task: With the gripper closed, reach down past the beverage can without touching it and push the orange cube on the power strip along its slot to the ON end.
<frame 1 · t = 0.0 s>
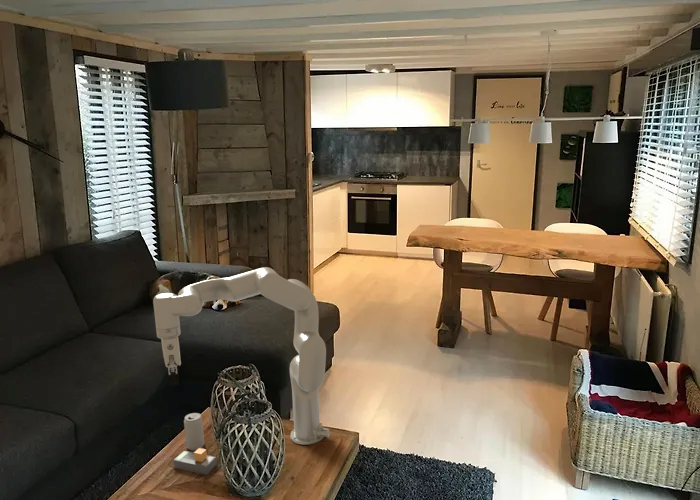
hand: (173, 378, 190), 31 cm above the table, tool pointing down, fingers open, 9 cm apart
orange cube: (200, 454, 193), point 5 cm above the table, slide at 0.0 cm
beverage can: (195, 447, 207), on the table
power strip: (195, 466, 195), on the table
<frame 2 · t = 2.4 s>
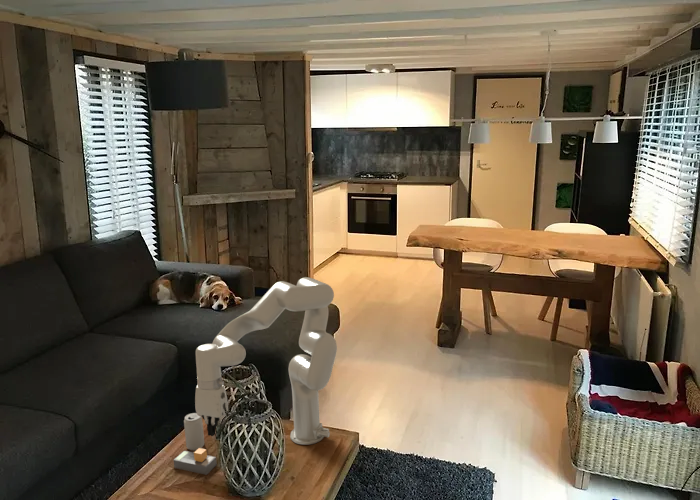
hand: (212, 433, 188), 14 cm above the table, tool pointing down, fingers closed
nothing on the table moved.
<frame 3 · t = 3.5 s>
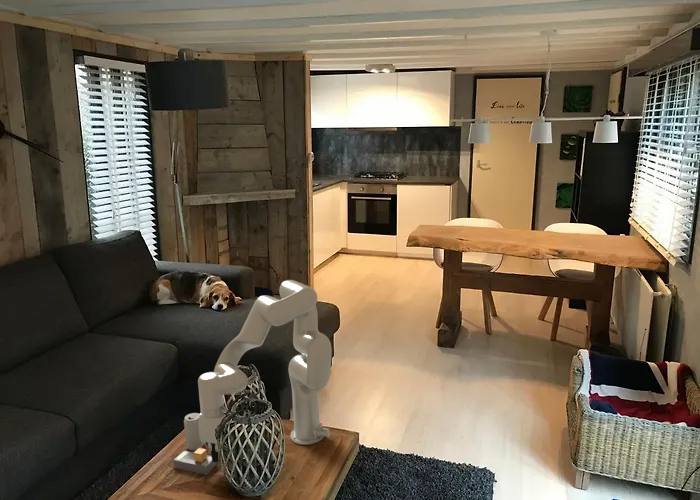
hand: (216, 459, 191), 4 cm above the table, tool pointing down, fingers closed
nothing on the table moved.
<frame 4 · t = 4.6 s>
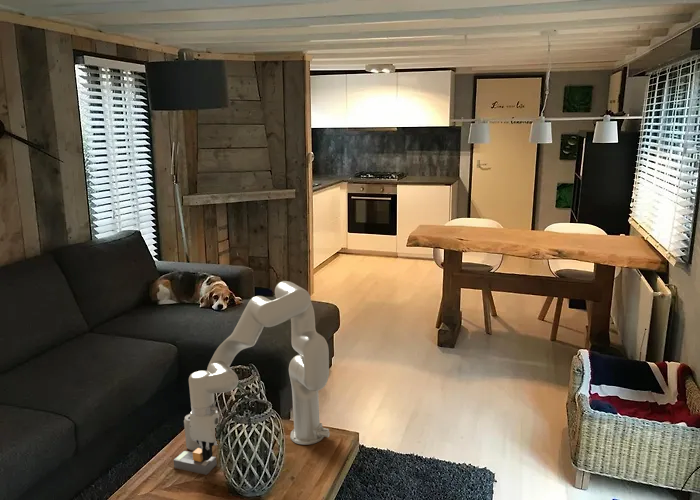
hand: (207, 457, 192), 4 cm above the table, tool pointing down, fingers closed
orange cube: (199, 454, 193), point 5 cm above the table, slide at 0.5 cm, touching gripper
everything else where it was.
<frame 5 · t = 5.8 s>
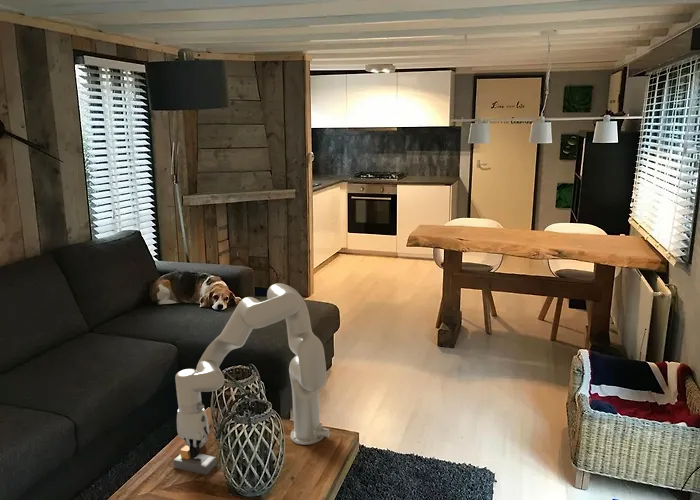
hand: (195, 455, 194), 4 cm above the table, tool pointing down, fingers closed
orange cube: (187, 452, 195), point 5 cm above the table, slide at 5.5 cm, touching gripper
everything else where it was.
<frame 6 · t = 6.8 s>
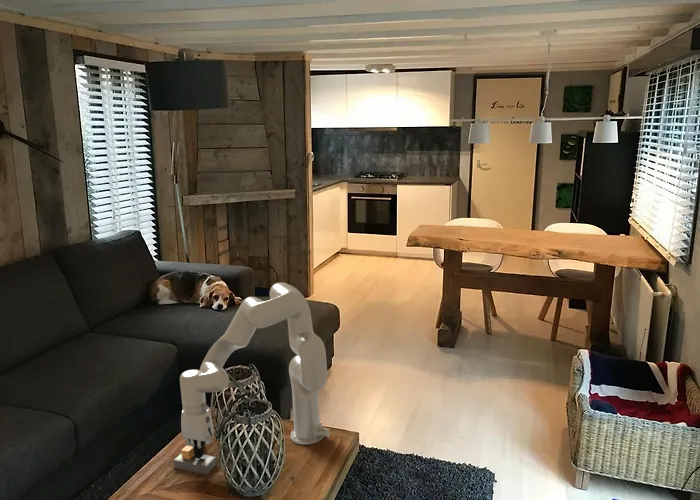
hand: (199, 456, 193), 4 cm above the table, tool pointing down, fingers closed
orange cube: (188, 452, 194), point 5 cm above the table, slide at 5.1 cm
everything else where it was.
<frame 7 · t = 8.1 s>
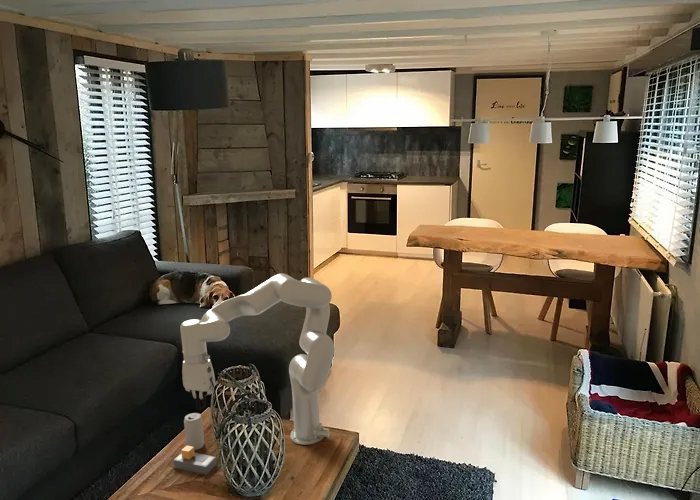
hand: (201, 407, 191), 21 cm above the table, tool pointing down, fingers closed
nothing on the table moved.
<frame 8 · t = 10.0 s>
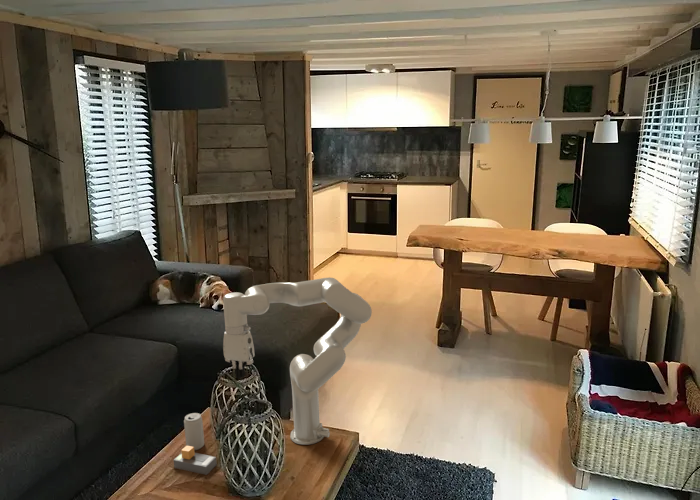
hand: (240, 378, 199), 27 cm above the table, tool pointing down, fingers closed
nothing on the table moved.
at the end: orange cube slide at 5.1 cm; beverage can moved 0.2 cm from its start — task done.
